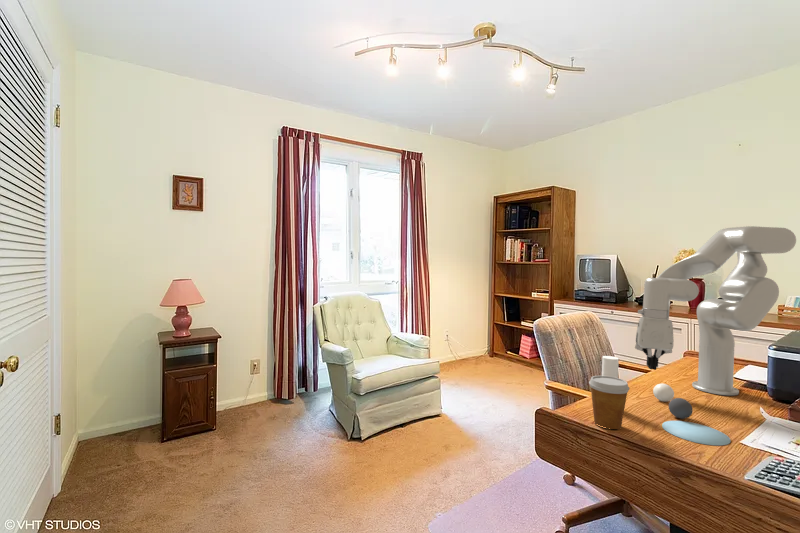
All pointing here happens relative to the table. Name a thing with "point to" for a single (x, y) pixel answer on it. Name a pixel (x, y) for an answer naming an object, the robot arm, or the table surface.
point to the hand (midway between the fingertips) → (651, 368)
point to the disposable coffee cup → (608, 400)
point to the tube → (610, 366)
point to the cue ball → (663, 392)
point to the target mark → (696, 433)
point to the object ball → (680, 408)
